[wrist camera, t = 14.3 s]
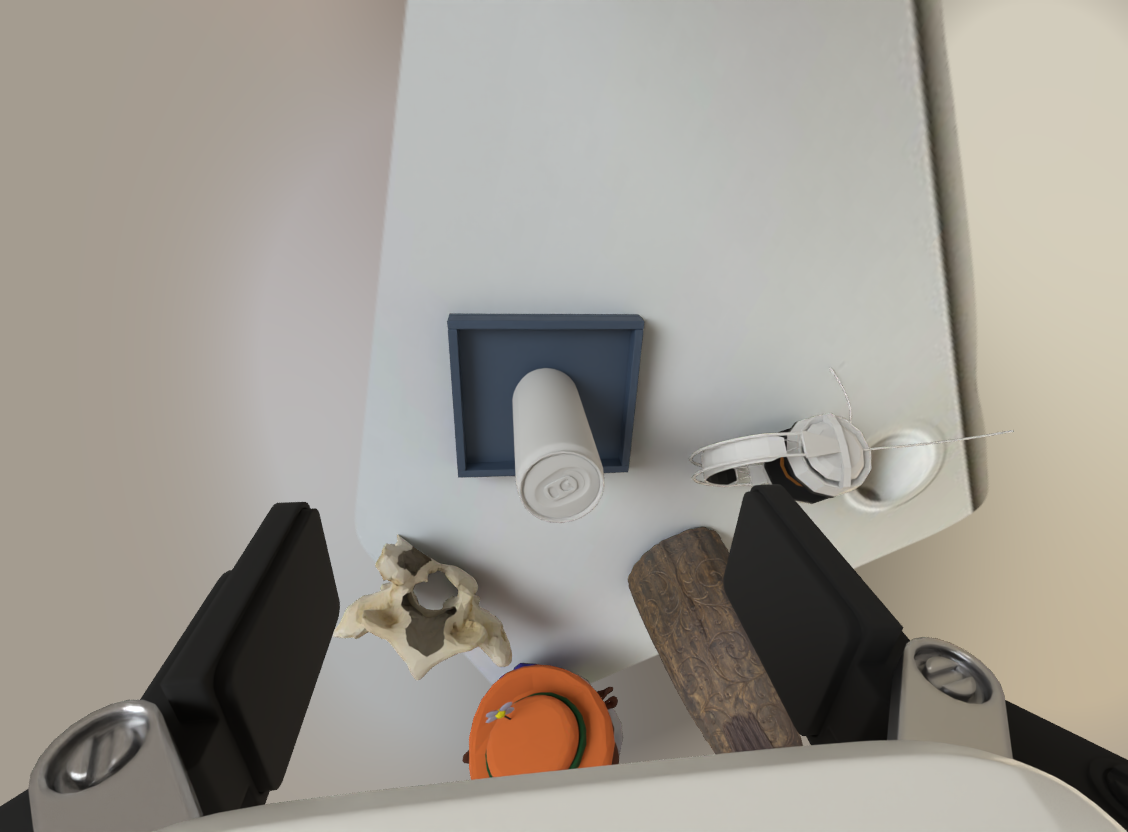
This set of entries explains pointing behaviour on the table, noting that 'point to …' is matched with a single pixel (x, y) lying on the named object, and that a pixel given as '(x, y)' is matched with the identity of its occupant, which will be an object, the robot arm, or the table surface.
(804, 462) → the headphones
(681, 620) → the statue
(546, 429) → the beverage can
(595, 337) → the tray
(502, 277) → the table surface
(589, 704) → the toy
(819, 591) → the robot arm
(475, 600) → the decorative object
